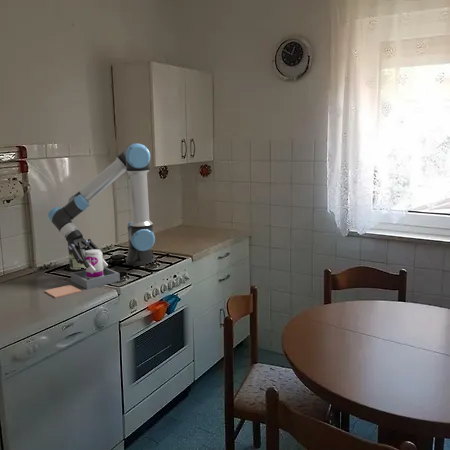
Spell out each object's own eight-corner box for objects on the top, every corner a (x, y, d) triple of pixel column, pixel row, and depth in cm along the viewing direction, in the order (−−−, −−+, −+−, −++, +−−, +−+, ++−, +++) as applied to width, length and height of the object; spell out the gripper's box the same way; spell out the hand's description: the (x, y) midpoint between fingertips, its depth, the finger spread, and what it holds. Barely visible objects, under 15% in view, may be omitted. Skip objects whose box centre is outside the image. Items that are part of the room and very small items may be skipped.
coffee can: (65, 268, 254) (63, 242, 251) (79, 263, 263) (77, 238, 260) (80, 270, 249) (78, 244, 247) (93, 265, 258) (91, 240, 256)
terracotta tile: (70, 285, 224) (69, 284, 224) (81, 291, 215) (81, 290, 215) (44, 291, 216) (44, 290, 216) (55, 298, 207) (55, 296, 207)
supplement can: (99, 283, 225) (97, 253, 222) (83, 283, 227) (81, 252, 224) (107, 278, 233) (105, 249, 230) (91, 278, 235) (89, 248, 232)
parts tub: (103, 273, 242) (102, 266, 241) (120, 281, 229) (119, 273, 229) (71, 281, 231) (70, 273, 230) (87, 289, 218) (86, 280, 217)
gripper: (83, 234, 242) (110, 268, 238) (51, 243, 224) (80, 280, 220) (90, 225, 239) (118, 259, 235) (59, 233, 220) (88, 270, 216)
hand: (100, 269), depth 227 cm, fingers closed on supplement can, 8 cm apart
